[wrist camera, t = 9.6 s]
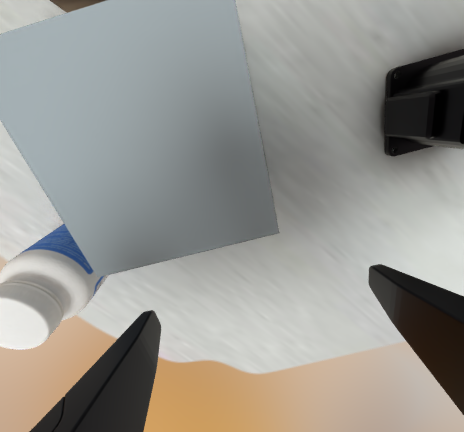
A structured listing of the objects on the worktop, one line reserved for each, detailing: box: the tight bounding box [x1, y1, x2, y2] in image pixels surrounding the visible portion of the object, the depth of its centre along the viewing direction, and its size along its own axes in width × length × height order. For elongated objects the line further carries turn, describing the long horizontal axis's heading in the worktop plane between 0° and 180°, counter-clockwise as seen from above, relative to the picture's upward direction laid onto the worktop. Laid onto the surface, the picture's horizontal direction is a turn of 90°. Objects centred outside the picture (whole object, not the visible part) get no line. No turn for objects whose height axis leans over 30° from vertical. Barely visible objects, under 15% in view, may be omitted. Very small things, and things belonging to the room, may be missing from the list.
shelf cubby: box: [0, 0, 279, 277], centre depth 14 cm, size 11×12×8 cm
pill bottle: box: [0, 224, 108, 350], centre depth 16 cm, size 6×5×10 cm
